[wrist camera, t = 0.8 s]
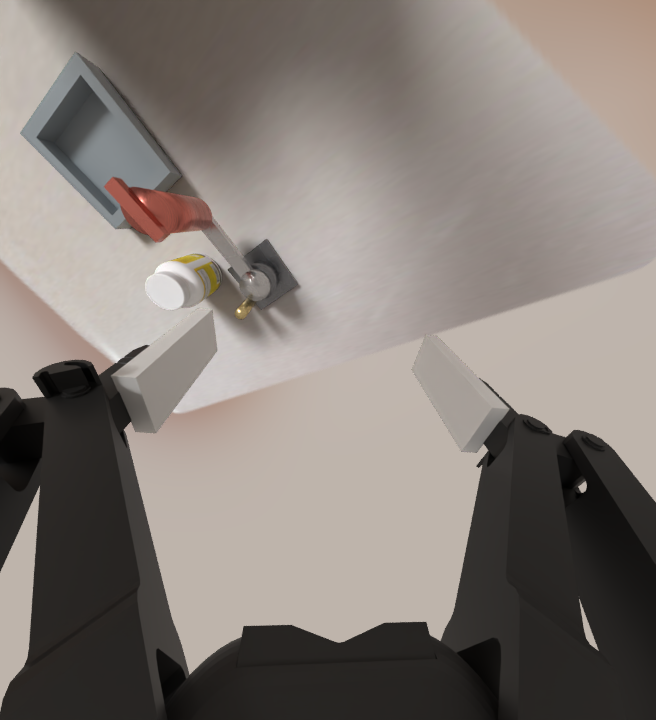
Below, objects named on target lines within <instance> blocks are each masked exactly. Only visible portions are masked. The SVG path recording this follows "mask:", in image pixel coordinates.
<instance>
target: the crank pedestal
mask: <svg viewBox="0 0 656 720" xmlns="http://www.w3.org/2000/svg"><path fill="white" fill-rule="evenodd" d="M244 258H245V259H246V260H247V261H248V263H249V264H250V265H251V267H252V268H253V269H259V270H262V271H264V272H265V273H266V274H267V275H268V276H269V278H270V280H271V290H270V292H269V294H268V295H267V297H266V298H264V299H263V300H261V301H252V300H250V299H248V298H247V299H246V300H245V301H244V302H243V303H242V304H241V305H240V306H239V307H238V308H237V310H236V311H235V316H236V318H238V319H244V318H245V317H246V316H247V314H248V313H249V312H250V310H251V309H252V308H253V306H254V305H255V304H256V305H257V306H258V307H259V308H260V309H261V310H262V309H263V308H265V307H266V306H268V305H269V304H270V303H272V302H273V301H275V300H276V299H278V298H279V297H280V296H282V295H283V294H285V293H286V292H288V291H289V290H291V289H292V288H293V287H295V286H296V285H298V283H297V281H296V280H295V279H294V277H293V276H292V274H291V273H290V271H289V270H288V268H287V267H286V266H285V264H284V263H283V261H282V260H281V258H280V257H279V256H278V254H277V253H276V251H275V250H274V248H273V247H272V246H271V244H270V243H269V241H268V240H267V239H266V240H264V241H263V242H262V243H261V244H259V245H258V246H257V247H256V248H254V249H253V250H252V251H251V252H249V253H248V254H247V255H245V256H244ZM228 271H229V272H230V273H231V275H232V276H233V277H234V278H235V279H236V281H237V282H238V283H239V282H240V276H239V275H238V274H237V273H236V271H235V270H234V269H233V268H232V267H230V268H229V269H228Z"/></svg>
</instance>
